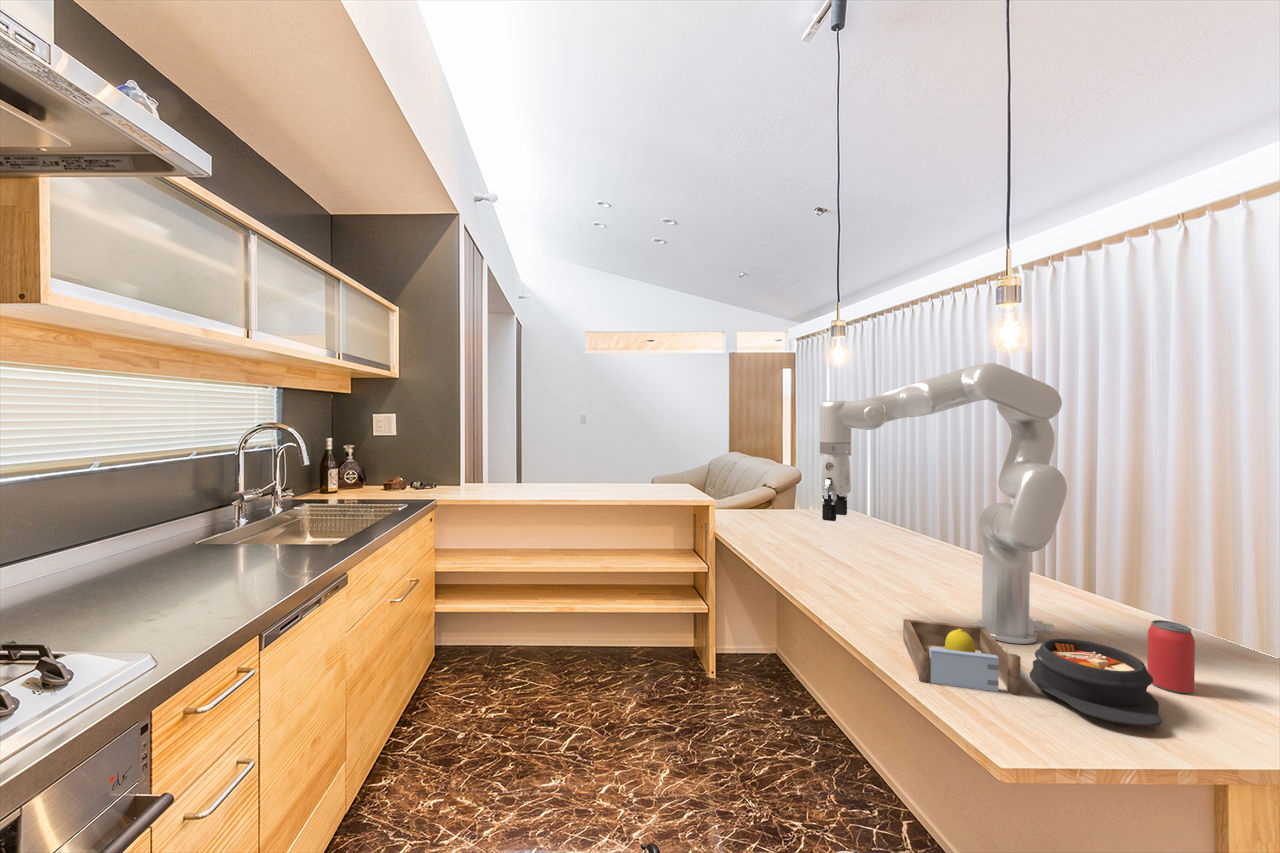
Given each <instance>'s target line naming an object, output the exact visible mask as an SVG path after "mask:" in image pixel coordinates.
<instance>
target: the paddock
mask: <svg viewBox="0 0 1280 853" xmlns="http://www.w3.org/2000/svg"><path fill="white" fill-rule="evenodd" d="M902 622H903V627H902V628H903V632H902V633H903V636H902V637H903V638H902V639H903V640H902V641H903V643H904V646H905V647H906V650H907V653H908V655H909V657H910V659H911V662H912V665H913V667H914V669H915V672H916V675H917V677H918V681H919V682H921V683H926V684H927V683H928V682H929V653H928V652H926V651H925V650H924V647H923V646H922V645H927V646H937V647H944V648H945V641H946V637H947V635H948V634H949V633H950V632H952V631H954V630H958V629H962V630H963V631H964V632H966V633H968V634H969V635H970V636H971V637H972V639H973V641H974V644H975V651H978V652H979V651H980V653H982V654H990V655H997V657H998V658H999V675H998V679H1000V680H1001V682H1002V683H1003V684H1004V686H1005V687H1006V688H1007V690H1006V692H1007V693H1008V694H1011V695H1014V696H1021V656H1020V655H1018V654H1015V653H1006V651H1005V650H1004V649H1003V648H1002V646H1001V645H1000V644H999V643H998V640H995V639H994V638H993V637H992V635H991V634H990V633H989V632H988V631H987V629H986V628H985V627H978V626H975V625H969V624H968V625H967V624H966V625H965V624H957V623H955V624H954V623H947V622H939V621H938V622H936V621H927V620H925V621H924V620H919V619H918V620H916V619H907V618H906V619H905V618H903V621H902Z"/></svg>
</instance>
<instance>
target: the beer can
mask: <svg viewBox="0 0 1280 853" xmlns="http://www.w3.org/2000/svg"><path fill="white" fill-rule="evenodd" d="M1195 641H1196V640H1195V637H1194V636H1193V633H1192V628H1190V627H1189V626H1188V625H1185V624H1182V623H1179V622H1174V621H1169V620H1163V619H1159V620H1158V619H1157V620H1154V619H1153V620H1152V621H1151V624H1150V626H1149V628H1148V630H1147V659H1146V660H1147V667H1146V669H1147V672H1148V673H1149V674H1150V675H1151V676H1152V678H1153V683H1152V684H1151V685H1153V686H1156V687H1157V688H1159V687H1160V688H1159V689H1161V690H1164V689H1166V690H1165V691H1168V690H1169V691H1168V692H1171V691H1173V693H1177V692H1179V693H1178V694H1190V693H1192V692H1193V691H1195V672H1196V671H1195V670H1196V669H1195V668H1196V667H1195V664H1196V662H1195V659H1196V658H1195V657H1196V642H1195Z"/></svg>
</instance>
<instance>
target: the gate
mask: <svg viewBox="0 0 1280 853" xmlns="http://www.w3.org/2000/svg"><path fill="white" fill-rule="evenodd" d="M998 675H999V658H998V657H997V655H990V654H982V653H981V652H980V653H979V652H975V653H973V652H964V651H955V650H947V649H945V648H936V647H929V671H928V681H929V682H930V684H935V685H936V684H937V685H943V686H949V687H950V686H952V687H959V688H960V687H961V688H966V689H967V688H968V689H975V690H981V691H982V690H983V691H990V692H996V693H998V692H999V685H1000V684H999V676H998Z"/></svg>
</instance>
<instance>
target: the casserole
mask: <svg viewBox="0 0 1280 853" xmlns="http://www.w3.org/2000/svg"><path fill="white" fill-rule="evenodd" d="M1034 655H1035V658H1036V659H1034V660H1033V661H1032V669H1031V670H1030V672H1029V678H1030V680H1031V681H1032V682H1033V683H1034V684H1035V685H1036V686H1037V687H1038V688H1040V689H1041V690H1042V691H1045V692H1046V693H1047V694H1049V695H1052V696H1053V697H1055V698H1057V699H1059V700H1061V701H1063V702H1065V703H1067V704H1068V705H1069V706H1071V707H1072V708H1074V709H1075V710H1077V711H1078V712H1081V713H1082V714H1085V715H1087V716H1089V717H1093V718H1095V719H1099V720H1104V721H1108V722H1112V723H1117V724H1123V725H1131V726H1140V727H1142V726H1146V727H1148V726H1149V727H1150V726H1153V727H1154V726H1158V725H1159V726H1161V724H1162V723H1163V719H1162V716H1161V714H1160V712H1159V709H1160V703H1159V702H1158V700H1157V699H1156V698H1155V697H1154V696H1153V695H1152V694H1151V693H1149V692H1148V691H1147V690H1148V687H1149V686H1151V685H1153V684H1152V683H1153V678H1152V676H1151V675H1150V674H1149V673H1148V672H1147V667H1146V665H1145V663H1144V662H1143V661H1142V660H1140V659H1139V658H1138V657H1137V656H1136V657H1135V656H1134V655H1132V654H1130V653H1128V652H1125V651H1122V650H1120V649H1117V648H1114V647H1112V646H1108V645H1104V644H1101V643H1097V642H1092V641H1086V640H1080V639H1073V638H1050V639H1046V640H1044V641H1043V642H1042V643H1041V644H1040V647H1039V648H1038V649H1037V650H1035V652H1034Z"/></svg>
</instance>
